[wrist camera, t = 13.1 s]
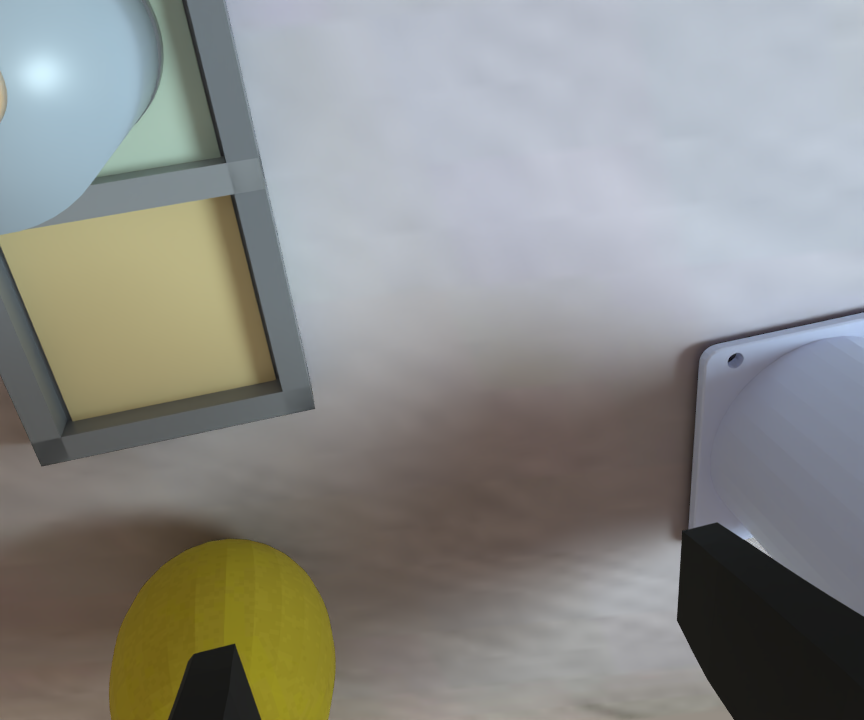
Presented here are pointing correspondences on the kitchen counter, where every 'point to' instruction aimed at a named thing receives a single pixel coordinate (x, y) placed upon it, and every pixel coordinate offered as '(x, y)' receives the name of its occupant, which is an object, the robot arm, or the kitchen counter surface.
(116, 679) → the lemon
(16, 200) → the cell
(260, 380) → the checker tray
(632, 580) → the kitchen counter surface
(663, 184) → the kitchen counter surface
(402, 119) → the kitchen counter surface
